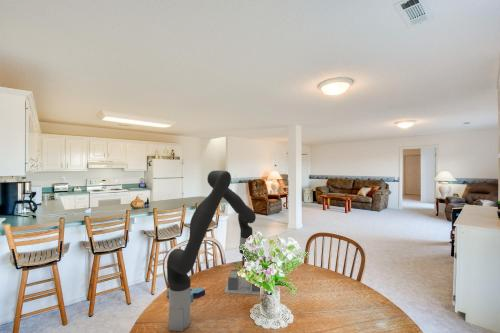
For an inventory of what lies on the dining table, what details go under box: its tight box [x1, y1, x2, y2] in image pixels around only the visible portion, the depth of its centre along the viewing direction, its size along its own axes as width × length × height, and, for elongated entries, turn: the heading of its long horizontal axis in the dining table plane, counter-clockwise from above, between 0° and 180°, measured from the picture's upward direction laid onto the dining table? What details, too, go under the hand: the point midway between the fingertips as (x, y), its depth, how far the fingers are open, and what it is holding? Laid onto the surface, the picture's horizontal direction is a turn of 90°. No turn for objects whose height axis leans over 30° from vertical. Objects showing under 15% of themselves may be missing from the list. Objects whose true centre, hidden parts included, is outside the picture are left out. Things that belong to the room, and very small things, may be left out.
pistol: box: [166, 286, 206, 304], centre depth 135 cm, size 4×16×15 cm
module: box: [239, 276, 251, 287], centre depth 144 cm, size 4×6×8 cm, turn 85°
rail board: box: [224, 269, 261, 296], centre depth 144 cm, size 14×22×8 cm, turn 85°
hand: (245, 272), depth 144 cm, fingers open, 8 cm apart
